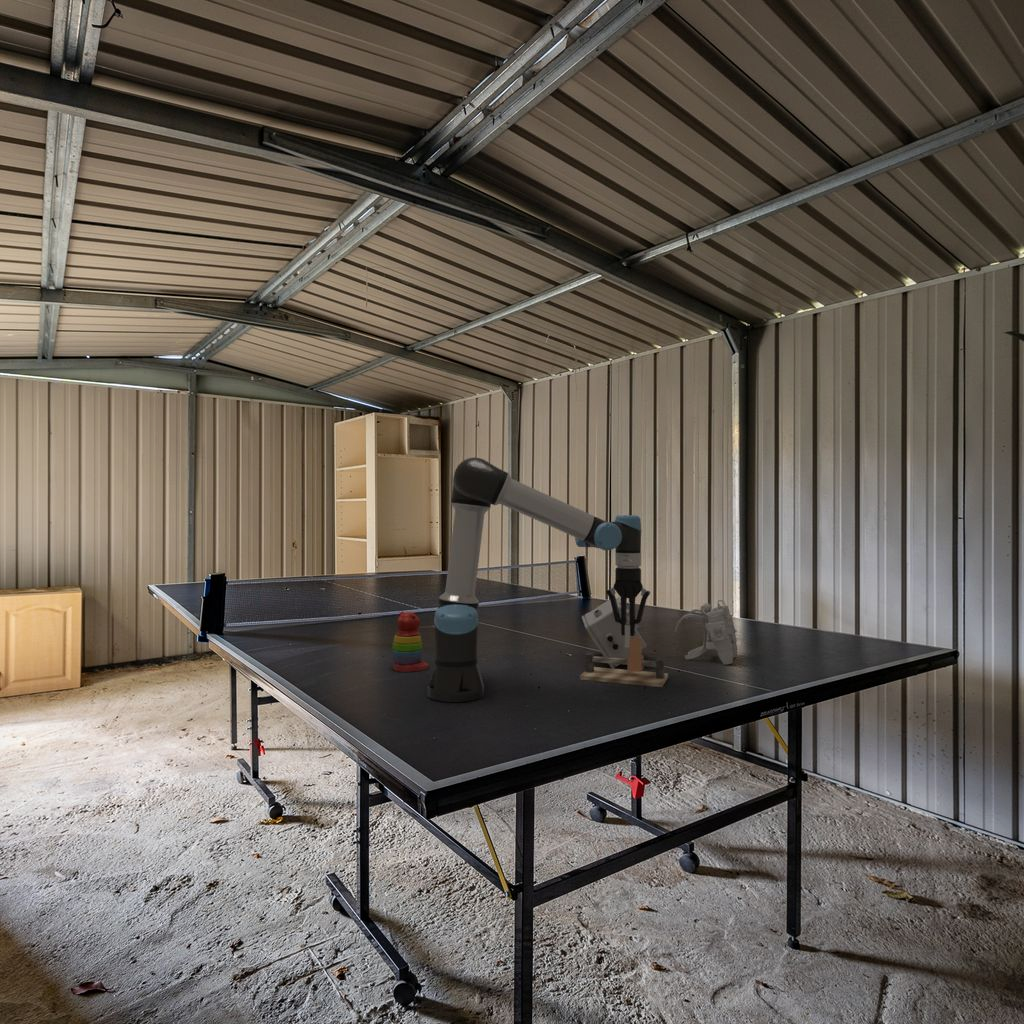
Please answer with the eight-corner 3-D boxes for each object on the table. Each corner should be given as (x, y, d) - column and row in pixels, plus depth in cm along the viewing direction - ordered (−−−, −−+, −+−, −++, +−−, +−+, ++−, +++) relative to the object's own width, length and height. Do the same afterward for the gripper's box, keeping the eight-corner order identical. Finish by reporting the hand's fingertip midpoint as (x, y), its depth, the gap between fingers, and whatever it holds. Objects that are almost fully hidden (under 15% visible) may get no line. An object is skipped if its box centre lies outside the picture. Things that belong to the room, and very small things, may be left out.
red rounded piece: (431, 668, 207) (432, 612, 207) (406, 674, 199) (406, 615, 199) (410, 663, 214) (410, 608, 214) (384, 668, 207) (385, 611, 207)
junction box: (661, 657, 204) (622, 597, 204) (621, 683, 204) (582, 624, 205) (649, 642, 228) (614, 589, 228) (613, 666, 228) (578, 612, 229)
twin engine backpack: (692, 661, 232) (678, 605, 234) (746, 653, 224) (731, 596, 226) (681, 672, 216) (667, 612, 218) (739, 664, 208) (723, 602, 210)
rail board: (579, 679, 193) (579, 657, 193) (589, 670, 205) (589, 649, 205) (662, 687, 185) (662, 664, 185) (667, 677, 196) (667, 655, 196)
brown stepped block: (627, 670, 192) (627, 639, 192) (630, 667, 196) (630, 636, 196) (641, 671, 191) (641, 640, 191) (643, 668, 195) (643, 637, 195)
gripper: (603, 567, 193) (603, 647, 193) (648, 568, 189) (648, 650, 189) (609, 565, 200) (609, 642, 200) (652, 566, 196) (652, 645, 196)
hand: (628, 646), depth 194 cm, fingers closed
